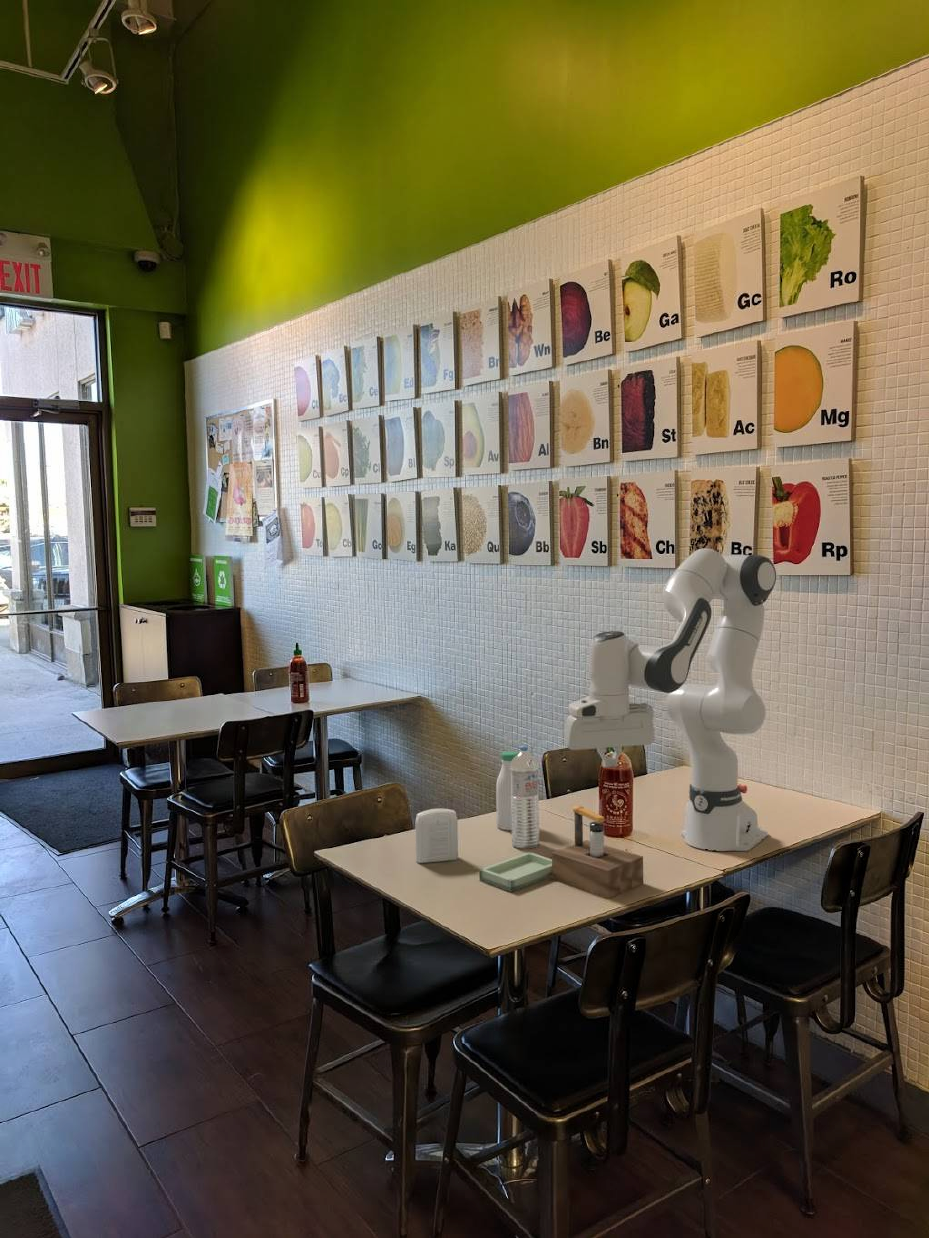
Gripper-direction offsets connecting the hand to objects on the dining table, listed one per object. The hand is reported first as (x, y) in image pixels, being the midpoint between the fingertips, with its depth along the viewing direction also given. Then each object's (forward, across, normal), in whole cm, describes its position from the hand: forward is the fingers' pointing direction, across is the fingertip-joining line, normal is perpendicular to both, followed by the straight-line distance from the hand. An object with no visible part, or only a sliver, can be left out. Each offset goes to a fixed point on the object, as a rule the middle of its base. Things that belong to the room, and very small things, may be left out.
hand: (609, 766), depth 203 cm
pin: (+25, +4, +2) cm, 25 cm away
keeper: (+11, +5, -1) cm, 12 cm away
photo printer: (+25, +36, -21) cm, 49 cm away
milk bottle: (+25, +13, -40) cm, 49 cm away
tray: (+25, +20, -5) cm, 32 cm away
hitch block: (+25, +4, +2) cm, 25 cm away
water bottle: (+25, +13, -25) cm, 38 cm away
